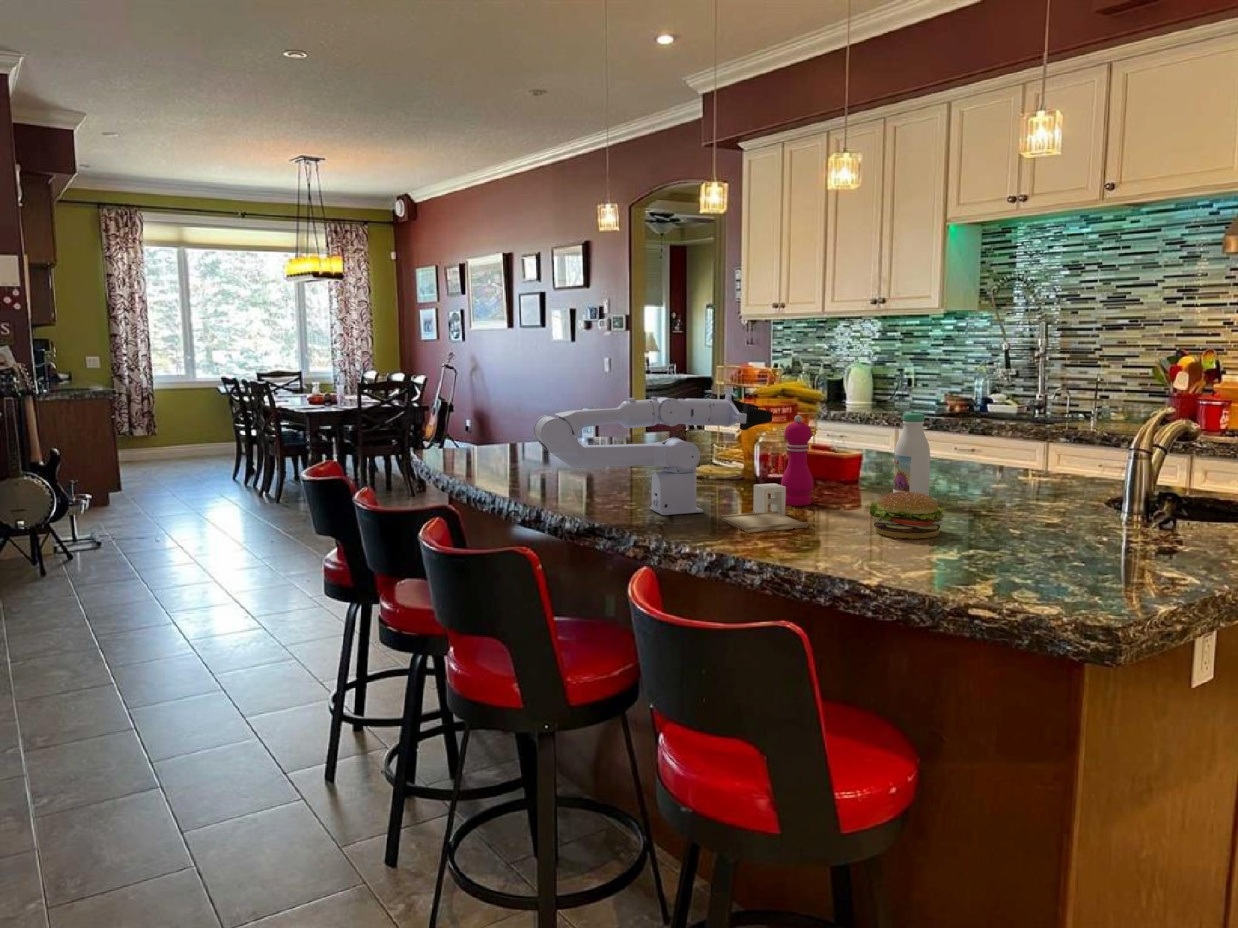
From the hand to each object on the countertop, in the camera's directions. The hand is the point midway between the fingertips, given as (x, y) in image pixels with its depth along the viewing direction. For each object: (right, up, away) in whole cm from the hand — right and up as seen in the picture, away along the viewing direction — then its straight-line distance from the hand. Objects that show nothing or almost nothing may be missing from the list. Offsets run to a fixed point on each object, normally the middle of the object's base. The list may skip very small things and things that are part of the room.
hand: (764, 413), depth 195 cm
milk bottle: (+34, -20, +6) cm, 40 cm away
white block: (0, -22, -6) cm, 22 cm away
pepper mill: (+8, -20, +5) cm, 22 cm away
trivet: (-3, -23, -16) cm, 28 cm away
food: (+23, -24, -25) cm, 42 cm away
